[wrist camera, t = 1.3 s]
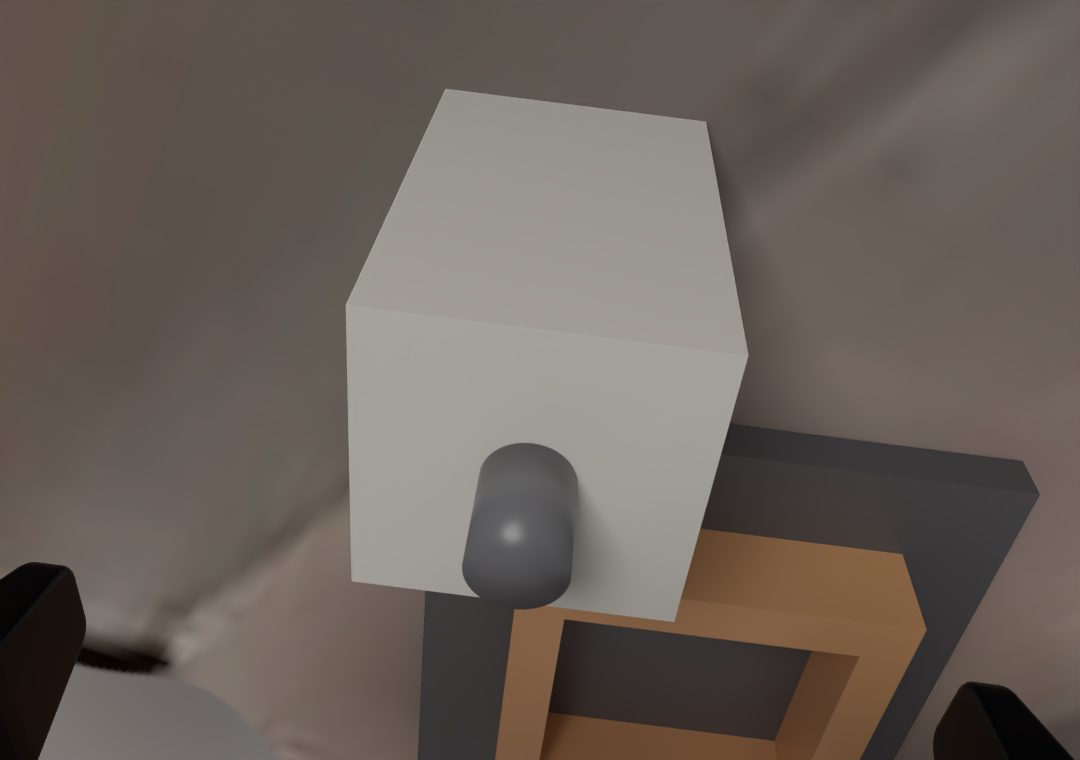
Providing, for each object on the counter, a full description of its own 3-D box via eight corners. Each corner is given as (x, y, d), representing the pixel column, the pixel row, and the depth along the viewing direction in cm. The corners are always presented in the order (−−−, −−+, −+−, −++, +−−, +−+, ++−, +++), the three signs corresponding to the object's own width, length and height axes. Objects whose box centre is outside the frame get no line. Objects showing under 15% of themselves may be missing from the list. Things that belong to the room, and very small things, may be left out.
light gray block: (660, 339, 19) (678, 718, 12) (436, 310, 19) (323, 673, 12) (705, 121, 16) (764, 444, 9) (445, 88, 16) (308, 386, 9)
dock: (852, 787, 27) (874, 896, 24) (423, 732, 27) (403, 837, 24) (1022, 461, 20) (1078, 569, 17) (441, 388, 20) (415, 485, 17)
